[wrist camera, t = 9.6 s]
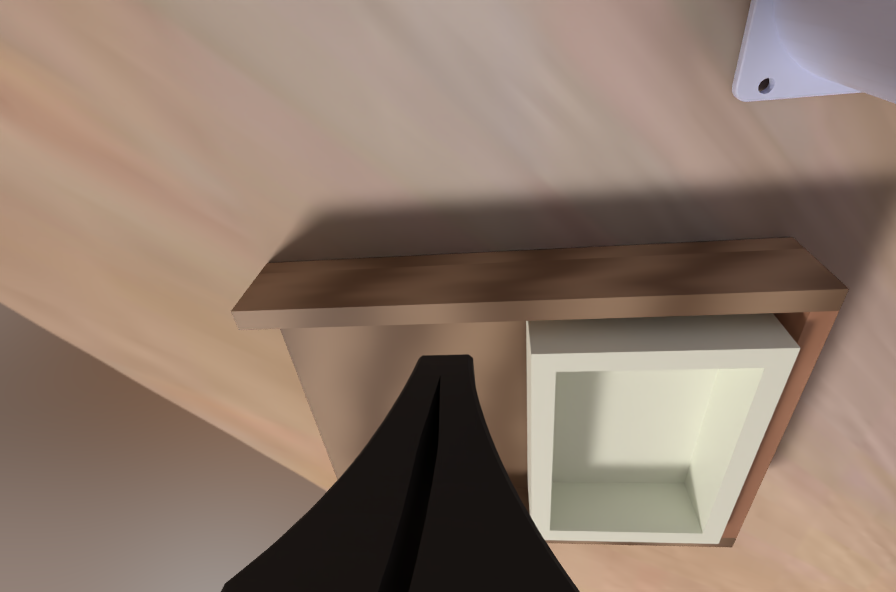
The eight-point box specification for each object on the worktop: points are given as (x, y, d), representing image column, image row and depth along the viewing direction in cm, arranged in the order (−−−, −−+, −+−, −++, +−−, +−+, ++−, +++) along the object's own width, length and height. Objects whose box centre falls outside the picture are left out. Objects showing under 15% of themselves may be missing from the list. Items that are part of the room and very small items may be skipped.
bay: (792, 237, 21) (849, 288, 17) (706, 485, 31) (732, 547, 28) (267, 262, 24) (230, 311, 20) (347, 482, 34) (331, 537, 30)
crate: (757, 293, 21) (800, 347, 18) (695, 484, 29) (718, 544, 26) (526, 301, 22) (531, 354, 19) (527, 483, 30) (531, 539, 27)
